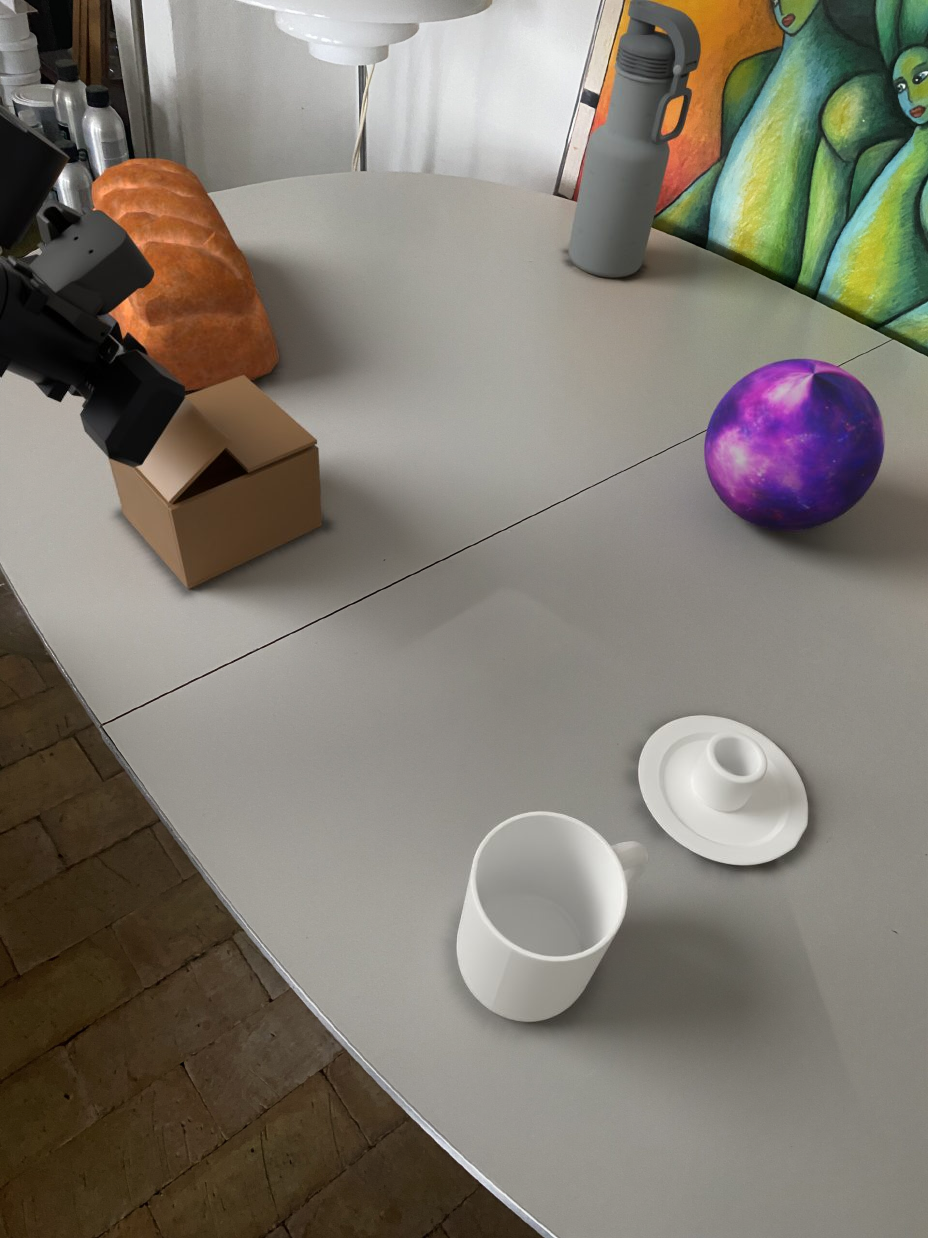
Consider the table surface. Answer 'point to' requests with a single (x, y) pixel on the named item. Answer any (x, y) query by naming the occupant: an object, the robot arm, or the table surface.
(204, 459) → the flap
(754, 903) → the table surface
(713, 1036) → the table surface
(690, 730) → the candle holder
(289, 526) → the carton
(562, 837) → the mug
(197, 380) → the bread
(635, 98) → the water bottle
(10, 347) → the robot arm
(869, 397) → the decorative orb
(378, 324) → the table surface
